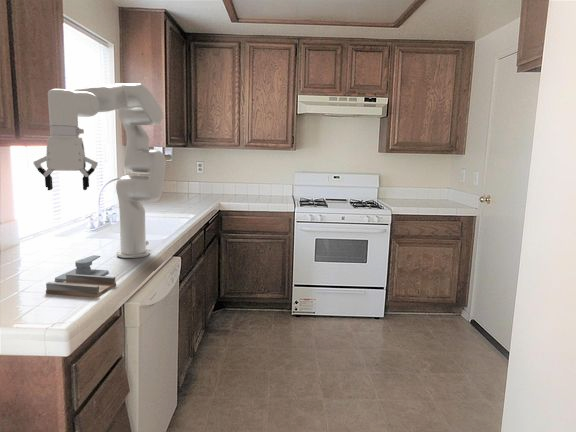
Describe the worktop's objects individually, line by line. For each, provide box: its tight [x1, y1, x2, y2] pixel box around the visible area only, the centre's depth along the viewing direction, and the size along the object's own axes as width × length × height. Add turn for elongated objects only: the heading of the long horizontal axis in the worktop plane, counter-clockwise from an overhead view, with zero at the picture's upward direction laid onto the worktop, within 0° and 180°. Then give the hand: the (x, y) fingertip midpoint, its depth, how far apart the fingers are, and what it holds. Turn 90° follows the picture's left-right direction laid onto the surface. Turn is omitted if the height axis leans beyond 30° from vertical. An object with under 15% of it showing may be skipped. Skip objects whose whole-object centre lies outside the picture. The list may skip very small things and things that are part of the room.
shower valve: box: [54, 255, 109, 283], centre depth 145 cm, size 12×6×15 cm
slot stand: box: [45, 274, 117, 298], centre depth 132 cm, size 11×16×3 cm
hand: (67, 189), depth 131 cm, fingers open, 9 cm apart
